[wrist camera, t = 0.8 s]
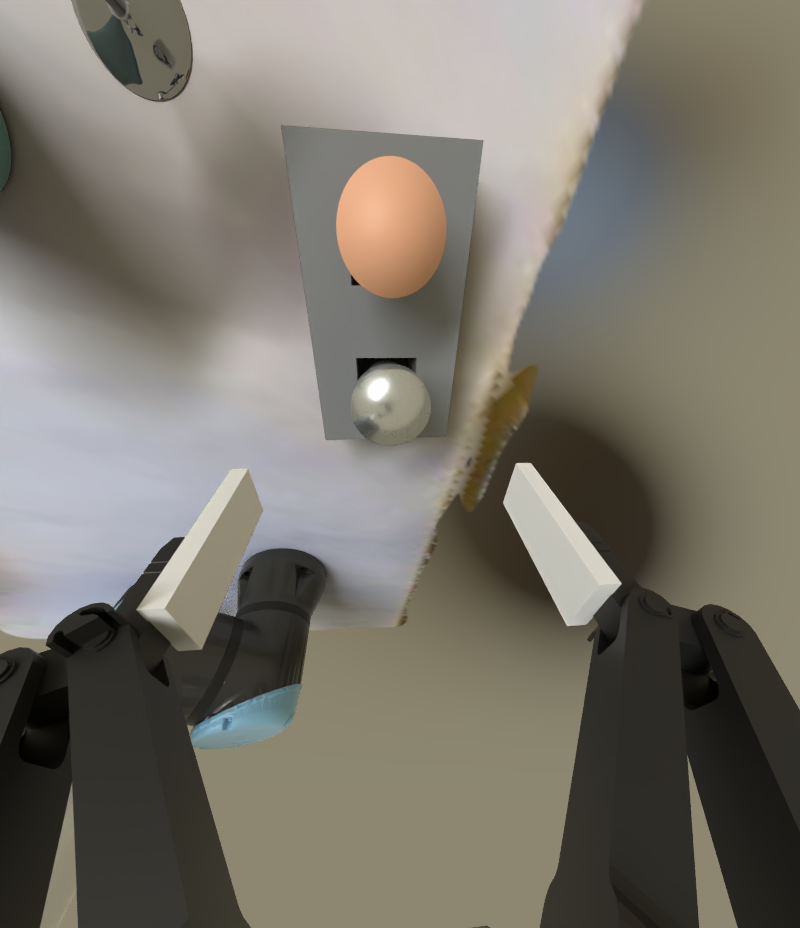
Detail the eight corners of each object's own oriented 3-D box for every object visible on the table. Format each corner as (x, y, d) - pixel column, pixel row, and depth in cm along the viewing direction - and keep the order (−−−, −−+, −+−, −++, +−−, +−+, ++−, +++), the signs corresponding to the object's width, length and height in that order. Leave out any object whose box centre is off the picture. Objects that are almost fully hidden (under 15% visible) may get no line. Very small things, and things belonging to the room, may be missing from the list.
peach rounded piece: (423, 292, 26) (440, 299, 20) (346, 291, 25) (341, 297, 20) (429, 188, 22) (452, 160, 17) (339, 183, 22) (329, 151, 16)
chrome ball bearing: (416, 414, 33) (427, 444, 27) (355, 415, 32) (353, 446, 26) (420, 350, 29) (434, 369, 23) (350, 350, 28) (347, 370, 23)
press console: (435, 415, 39) (445, 436, 34) (330, 417, 37) (325, 440, 32) (460, 165, 25) (483, 140, 20) (298, 155, 24) (280, 125, 19)
